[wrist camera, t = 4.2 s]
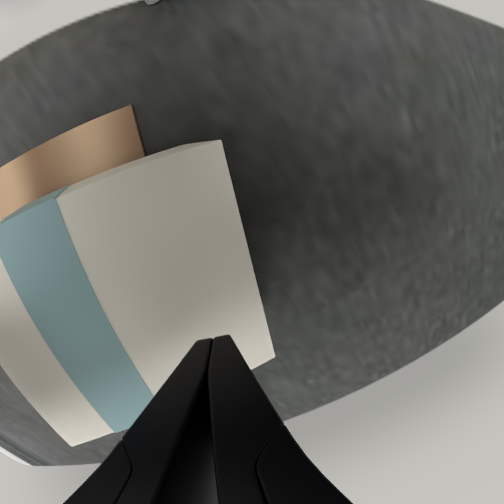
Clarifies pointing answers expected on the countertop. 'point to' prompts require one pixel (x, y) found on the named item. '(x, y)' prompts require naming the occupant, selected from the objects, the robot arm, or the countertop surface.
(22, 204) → the board
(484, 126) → the countertop surface
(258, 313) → the carton
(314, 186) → the countertop surface
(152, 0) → the ink box
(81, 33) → the countertop surface
